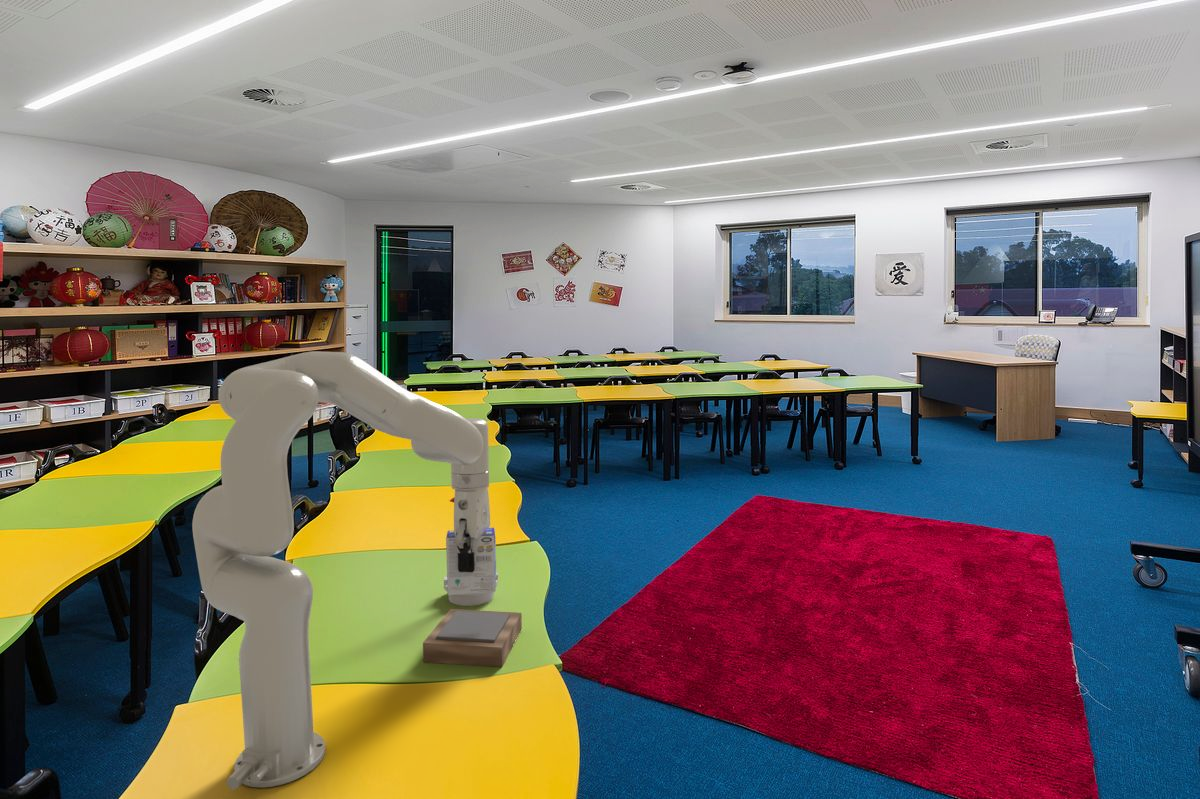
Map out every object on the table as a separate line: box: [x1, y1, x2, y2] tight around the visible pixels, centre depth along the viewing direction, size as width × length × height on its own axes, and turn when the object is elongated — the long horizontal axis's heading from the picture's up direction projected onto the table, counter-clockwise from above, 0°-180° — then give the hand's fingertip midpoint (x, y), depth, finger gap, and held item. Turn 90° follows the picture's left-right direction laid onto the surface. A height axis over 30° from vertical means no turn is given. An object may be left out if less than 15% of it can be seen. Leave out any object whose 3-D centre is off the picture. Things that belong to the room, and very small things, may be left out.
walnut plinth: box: [422, 608, 523, 668], centre depth 141 cm, size 16×16×4 cm
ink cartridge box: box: [445, 527, 497, 596], centre depth 139 cm, size 10×6×14 cm, turn 100°
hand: (471, 564), depth 139 cm, fingers closed on ink cartridge box, 6 cm apart
